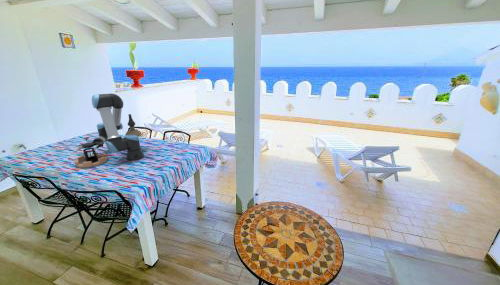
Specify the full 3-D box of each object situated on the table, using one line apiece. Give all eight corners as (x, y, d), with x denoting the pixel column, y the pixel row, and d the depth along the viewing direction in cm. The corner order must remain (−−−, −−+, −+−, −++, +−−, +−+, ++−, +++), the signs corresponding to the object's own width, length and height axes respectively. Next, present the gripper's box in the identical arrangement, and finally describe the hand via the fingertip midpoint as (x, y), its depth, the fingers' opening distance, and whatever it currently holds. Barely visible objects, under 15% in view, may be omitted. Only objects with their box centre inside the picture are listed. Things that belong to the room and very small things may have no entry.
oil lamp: (125, 152, 214) (117, 115, 201) (135, 147, 228) (128, 112, 214) (137, 153, 212) (131, 116, 198) (147, 148, 226) (141, 113, 212)
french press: (91, 158, 196) (84, 136, 188) (101, 158, 196) (95, 136, 188) (82, 164, 185) (75, 140, 177) (93, 164, 185) (86, 140, 177)
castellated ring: (113, 158, 200) (111, 153, 198) (93, 169, 178) (91, 163, 176) (91, 156, 203) (90, 151, 201) (69, 167, 181) (67, 161, 179)
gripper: (113, 144, 205) (102, 152, 185) (86, 145, 202) (71, 153, 182) (111, 137, 203) (100, 144, 183) (84, 138, 199) (69, 145, 179)
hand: (86, 149), depth 182 cm, fingers open, 13 cm apart
